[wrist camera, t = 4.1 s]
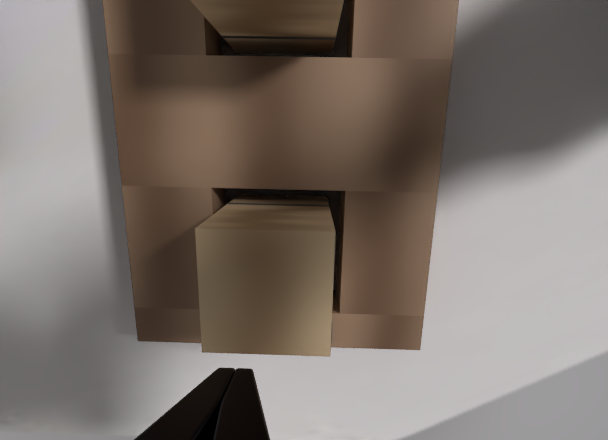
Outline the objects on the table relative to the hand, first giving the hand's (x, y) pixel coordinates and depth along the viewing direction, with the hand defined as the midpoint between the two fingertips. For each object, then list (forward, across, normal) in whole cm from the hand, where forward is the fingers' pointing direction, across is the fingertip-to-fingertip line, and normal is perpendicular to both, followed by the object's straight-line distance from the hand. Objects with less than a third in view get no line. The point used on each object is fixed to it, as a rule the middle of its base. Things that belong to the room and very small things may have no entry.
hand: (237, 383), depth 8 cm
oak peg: (+13, 0, 0) cm, 13 cm away
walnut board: (+13, 0, -6) cm, 14 cm away
